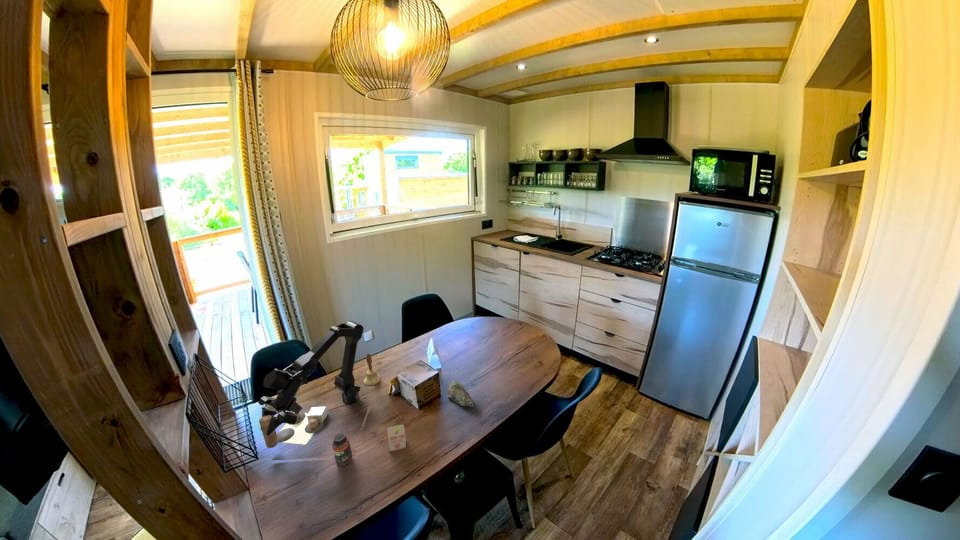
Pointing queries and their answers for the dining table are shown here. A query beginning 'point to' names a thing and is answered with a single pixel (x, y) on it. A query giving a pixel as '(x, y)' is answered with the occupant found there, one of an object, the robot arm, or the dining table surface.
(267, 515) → the dining table surface
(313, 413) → the housing
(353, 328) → the robot arm
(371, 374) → the hand bell
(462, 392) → the mineral rock
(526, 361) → the dining table surface
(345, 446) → the supplement bottle
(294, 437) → the board
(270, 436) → the tan orange cylinder
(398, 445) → the small printed carton
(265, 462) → the dining table surface
